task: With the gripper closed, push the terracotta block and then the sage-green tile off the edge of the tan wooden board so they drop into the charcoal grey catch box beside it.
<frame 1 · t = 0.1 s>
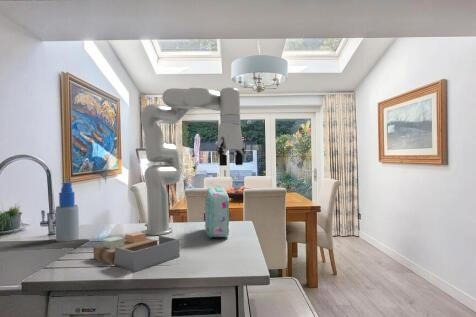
hand: (231, 165, 118), 31 cm above the counter, tool pointing down, fingers open, 9 cm apart
sage tile: (113, 246, 108), point 4 cm above the counter, touching tan wooden board
lunch box: (216, 234, 140), on the counter
spray bottle: (67, 239, 137), on the counter
tan wooden board: (126, 254, 111), on the counter
terracotta block: (135, 240, 115), point 4 cm above the counter, touching tan wooden board
catch box: (148, 260, 103), on the counter
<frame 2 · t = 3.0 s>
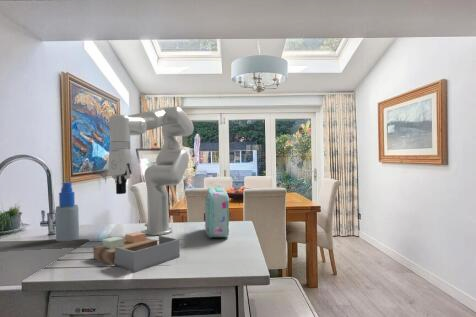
hand: (121, 193, 121), 21 cm above the counter, tool pointing down, fingers closed
nothing on the counter moved.
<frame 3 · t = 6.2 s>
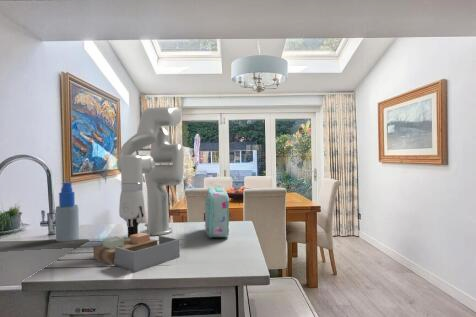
hand: (132, 236, 116), 5 cm above the counter, tool pointing down, fingers closed
terracotta block: (140, 241, 113), point 4 cm above the counter, touching tan wooden board
everything else where it was.
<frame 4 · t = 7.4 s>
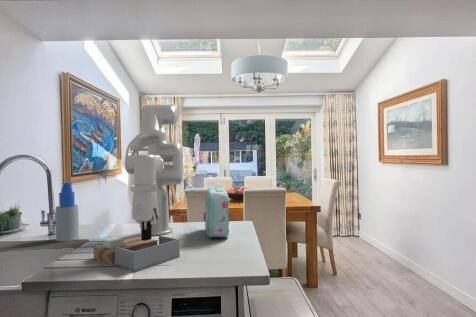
hand: (146, 239, 111), 5 cm above the counter, tool pointing down, fingers closed
terracotta block: (158, 248, 107), point 3 cm above the counter, tilted 180°, touching catch box
everything else where it was.
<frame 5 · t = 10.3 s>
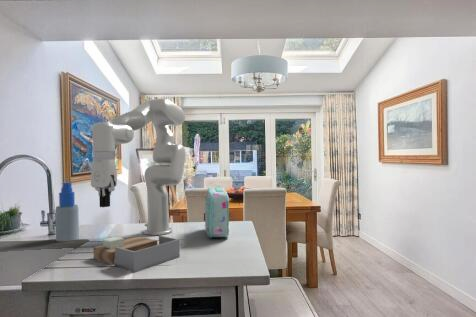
hand: (104, 206, 113), 17 cm above the counter, tool pointing down, fingers closed
nothing on the counter moved.
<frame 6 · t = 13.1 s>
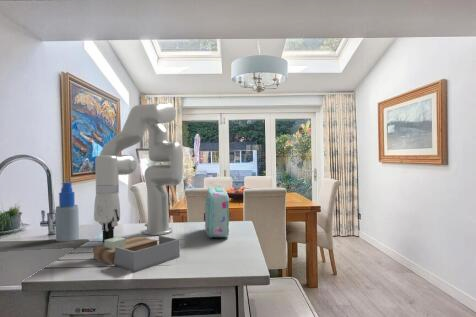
hand: (108, 241, 110), 5 cm above the counter, tool pointing down, fingers closed
sage tile: (115, 246, 107), point 4 cm above the counter, touching gripper
everything else where it was.
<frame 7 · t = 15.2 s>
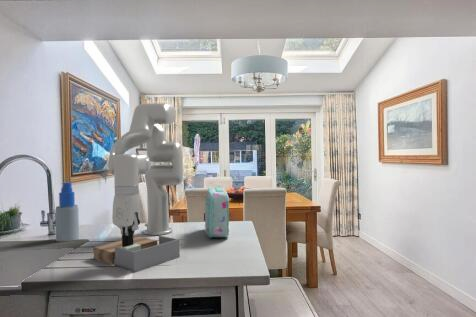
hand: (127, 246, 102), 5 cm above the counter, tool pointing down, fingers closed
sage tile: (129, 252, 102), point 3 cm above the counter, tilted 93°, touching catch box, gripper
everything else where it was.
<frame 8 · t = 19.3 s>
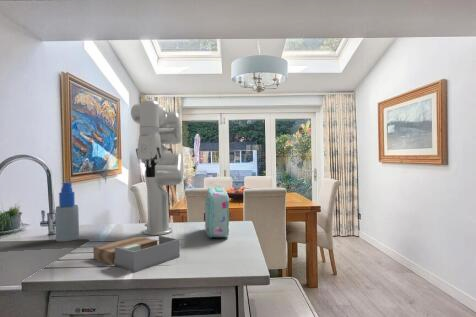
hand: (150, 177, 125), 27 cm above the counter, tool pointing down, fingers closed
sage tile: (129, 253, 102), point 3 cm above the counter, tilted 90°, touching catch box
everything else where it was.
at the end: terracotta block inside the target area (4.5 cm from its centre), point 3.1 cm above the counter; sage tile inside the target area (5.8 cm from its centre), point 3.1 cm above the counter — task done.
